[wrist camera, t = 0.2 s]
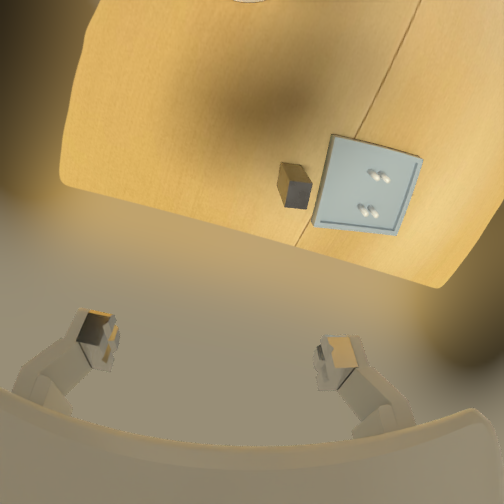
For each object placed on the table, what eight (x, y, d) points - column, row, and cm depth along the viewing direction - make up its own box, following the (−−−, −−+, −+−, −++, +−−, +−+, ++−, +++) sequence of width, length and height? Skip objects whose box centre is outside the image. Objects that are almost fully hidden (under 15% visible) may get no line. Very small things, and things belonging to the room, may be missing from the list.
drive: (280, 162, 55) (289, 180, 46) (301, 165, 55) (313, 183, 47) (276, 185, 57) (284, 207, 49) (296, 187, 58) (307, 209, 50)
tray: (331, 133, 51) (340, 140, 47) (417, 155, 54) (430, 164, 49) (310, 221, 63) (317, 234, 58) (392, 230, 65) (401, 242, 61)
